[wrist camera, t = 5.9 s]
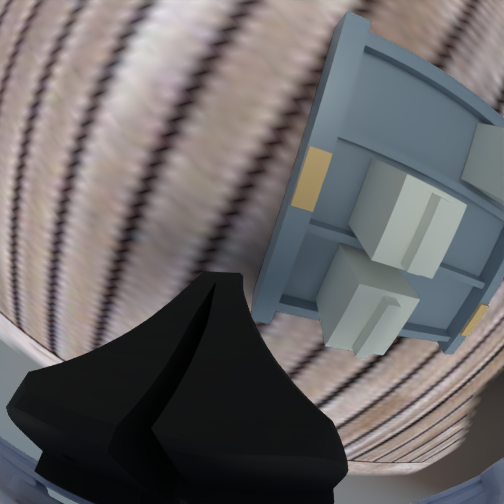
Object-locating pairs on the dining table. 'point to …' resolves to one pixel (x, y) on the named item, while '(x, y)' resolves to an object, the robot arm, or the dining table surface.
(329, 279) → the tab
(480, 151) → the tab
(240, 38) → the dining table surface
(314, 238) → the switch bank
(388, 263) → the tab
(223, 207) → the dining table surface
